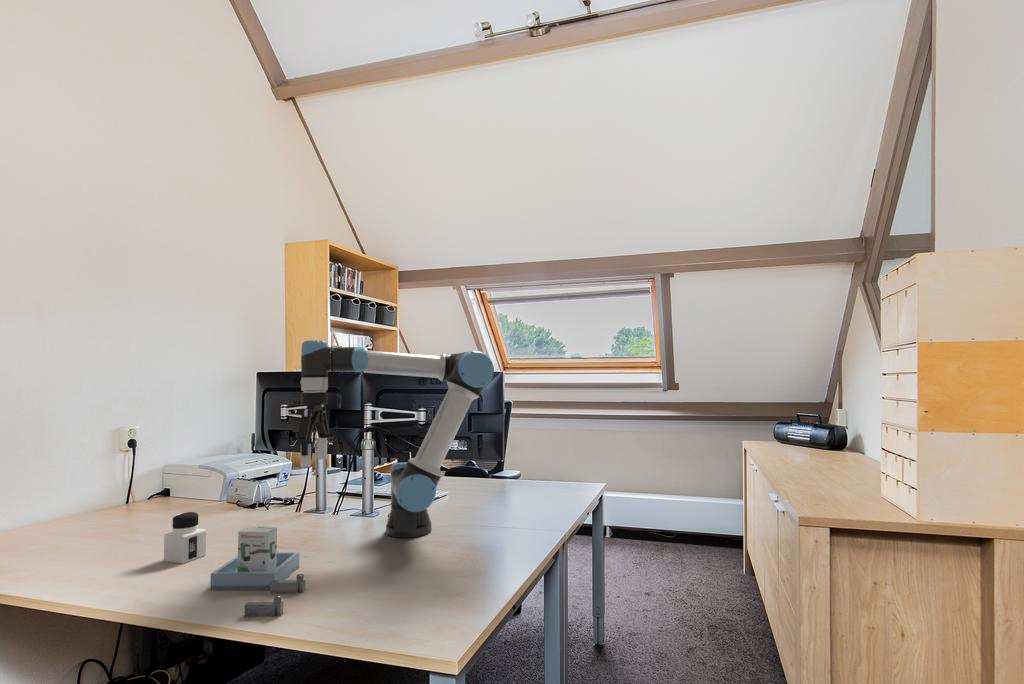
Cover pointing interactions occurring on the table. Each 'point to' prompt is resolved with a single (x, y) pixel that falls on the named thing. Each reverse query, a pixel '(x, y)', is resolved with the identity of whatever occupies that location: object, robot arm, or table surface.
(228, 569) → the bin
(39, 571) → the table surface
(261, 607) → the cradle
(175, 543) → the container
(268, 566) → the ink box
